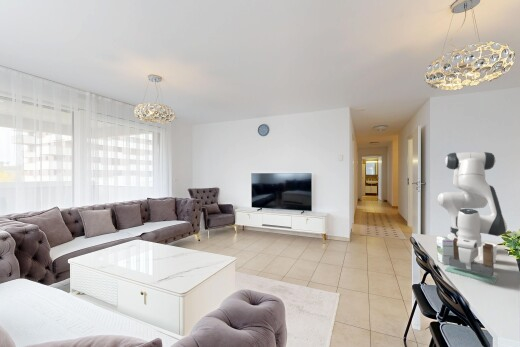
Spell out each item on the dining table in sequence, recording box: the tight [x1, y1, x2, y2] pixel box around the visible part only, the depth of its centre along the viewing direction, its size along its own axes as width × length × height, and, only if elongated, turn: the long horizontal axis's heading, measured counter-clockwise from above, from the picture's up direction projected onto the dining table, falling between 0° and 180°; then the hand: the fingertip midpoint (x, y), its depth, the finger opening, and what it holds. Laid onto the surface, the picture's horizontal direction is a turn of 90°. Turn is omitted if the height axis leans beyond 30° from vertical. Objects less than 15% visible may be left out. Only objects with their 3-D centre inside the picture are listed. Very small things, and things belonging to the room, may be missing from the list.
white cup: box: [478, 241, 498, 264], centre depth 128 cm, size 8×8×10 cm
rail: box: [448, 257, 494, 276], centre depth 111 cm, size 3×16×4 cm, turn 36°
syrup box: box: [436, 236, 454, 266], centre depth 126 cm, size 6×6×14 cm
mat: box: [444, 265, 498, 285], centre depth 112 cm, size 9×18×1 cm, turn 36°
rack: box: [453, 238, 495, 270], centre depth 122 cm, size 7×16×13 cm, turn 36°
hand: (469, 267), depth 111 cm, fingers closed on rail, 3 cm apart
